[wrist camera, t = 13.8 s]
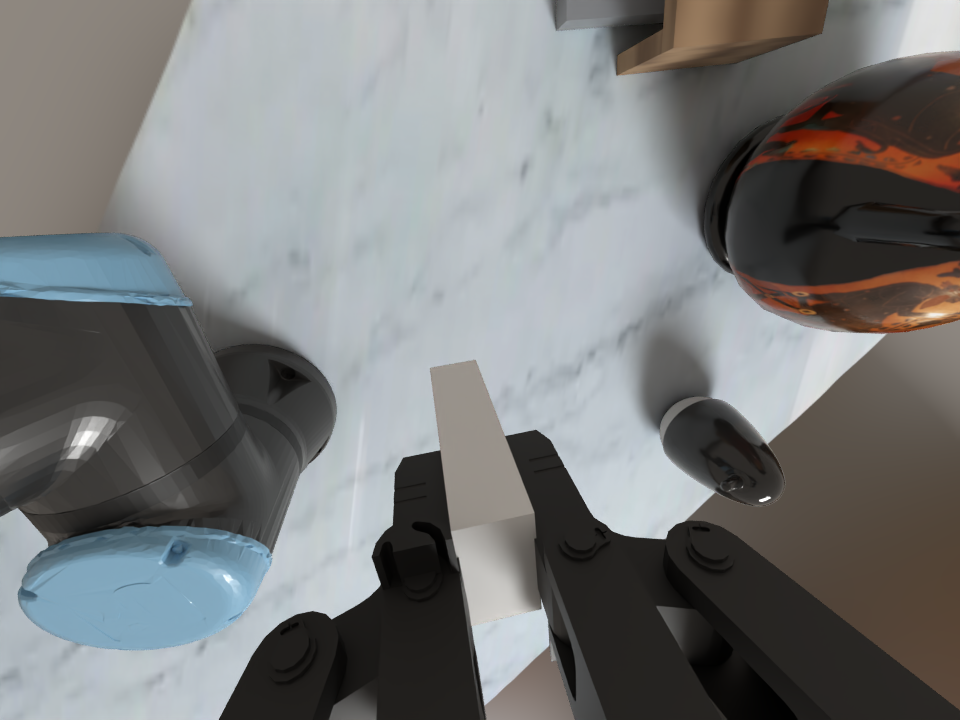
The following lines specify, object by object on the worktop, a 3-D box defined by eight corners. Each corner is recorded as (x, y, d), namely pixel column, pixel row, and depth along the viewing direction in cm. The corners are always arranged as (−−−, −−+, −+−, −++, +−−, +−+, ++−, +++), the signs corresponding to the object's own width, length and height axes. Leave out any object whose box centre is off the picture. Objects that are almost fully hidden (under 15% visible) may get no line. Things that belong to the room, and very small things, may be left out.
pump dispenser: (663, 380, 51) (756, 453, 38) (728, 389, 54) (837, 461, 40) (635, 445, 55) (710, 532, 42) (697, 450, 58) (787, 534, 44)
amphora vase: (888, 83, 40) (1672, -69, 15) (818, 290, 50) (1241, 405, 25) (696, 84, 38) (1284, -103, 12) (660, 304, 47) (957, 451, 22)
